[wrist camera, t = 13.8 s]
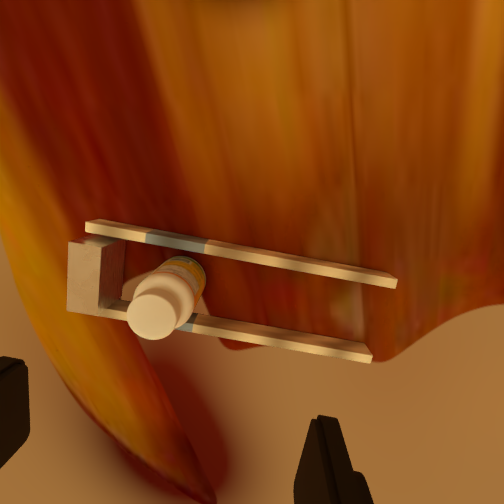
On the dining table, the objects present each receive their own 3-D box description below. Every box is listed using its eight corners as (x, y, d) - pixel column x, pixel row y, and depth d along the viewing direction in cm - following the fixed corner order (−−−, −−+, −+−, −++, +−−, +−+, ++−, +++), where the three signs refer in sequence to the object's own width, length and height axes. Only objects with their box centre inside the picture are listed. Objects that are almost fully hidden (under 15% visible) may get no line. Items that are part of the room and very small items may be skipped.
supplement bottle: (178, 308, 32) (145, 359, 23) (149, 271, 31) (103, 309, 22) (216, 284, 31) (198, 327, 22) (187, 245, 30) (156, 273, 21)
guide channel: (386, 272, 31) (411, 288, 26) (361, 350, 33) (380, 379, 28) (99, 218, 30) (68, 225, 25) (95, 303, 32) (66, 324, 27)
